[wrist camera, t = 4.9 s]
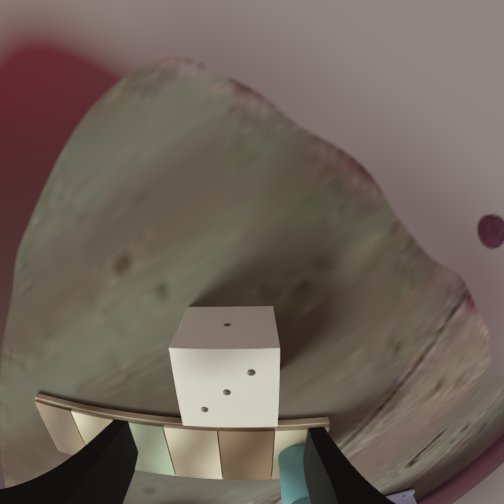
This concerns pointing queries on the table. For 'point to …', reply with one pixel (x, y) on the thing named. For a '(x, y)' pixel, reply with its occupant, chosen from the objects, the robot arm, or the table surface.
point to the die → (227, 367)
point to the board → (180, 441)
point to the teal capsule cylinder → (293, 475)
